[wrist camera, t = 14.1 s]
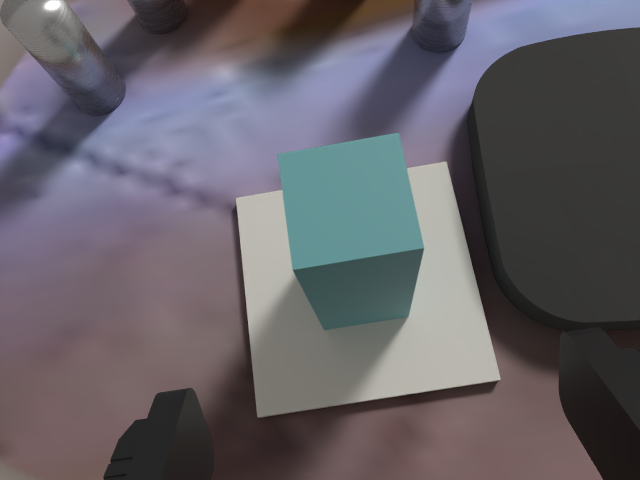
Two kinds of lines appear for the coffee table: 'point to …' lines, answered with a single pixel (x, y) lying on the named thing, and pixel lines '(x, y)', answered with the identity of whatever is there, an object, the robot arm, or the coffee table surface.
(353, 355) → the tile
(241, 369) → the coffee table surface
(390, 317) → the teal block
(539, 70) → the media streaming box
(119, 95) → the posts
